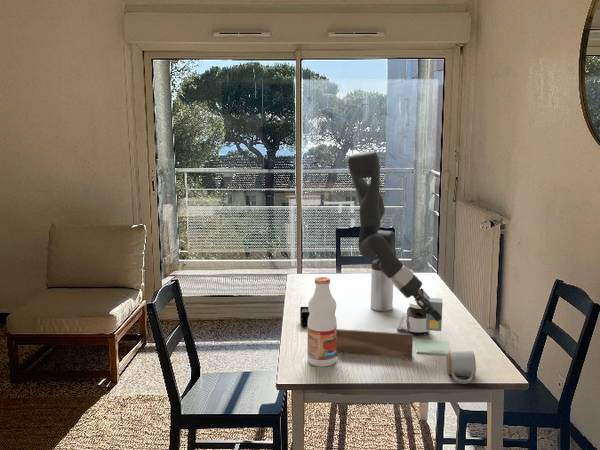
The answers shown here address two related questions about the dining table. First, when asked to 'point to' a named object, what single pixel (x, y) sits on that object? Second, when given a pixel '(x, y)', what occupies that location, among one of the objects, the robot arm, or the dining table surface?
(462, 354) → the ceramic mug
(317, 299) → the fruit juice
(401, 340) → the walnut screen
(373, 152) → the robot arm
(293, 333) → the dining table surface
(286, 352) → the dining table surface
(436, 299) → the slate block
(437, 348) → the sage mat
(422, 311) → the spread jar
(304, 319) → the end cap
